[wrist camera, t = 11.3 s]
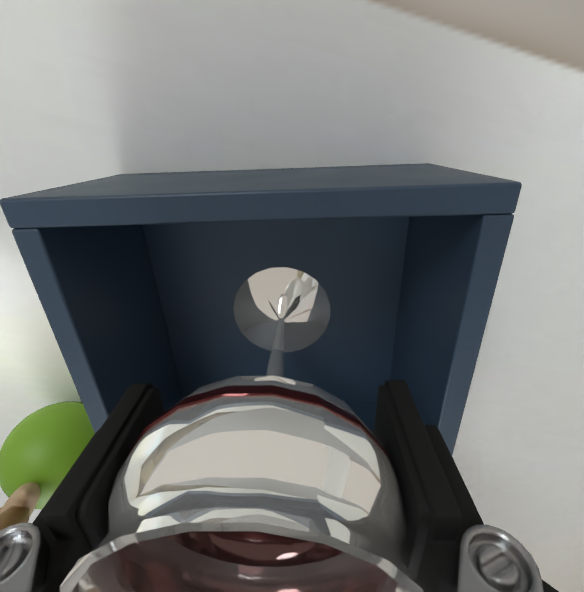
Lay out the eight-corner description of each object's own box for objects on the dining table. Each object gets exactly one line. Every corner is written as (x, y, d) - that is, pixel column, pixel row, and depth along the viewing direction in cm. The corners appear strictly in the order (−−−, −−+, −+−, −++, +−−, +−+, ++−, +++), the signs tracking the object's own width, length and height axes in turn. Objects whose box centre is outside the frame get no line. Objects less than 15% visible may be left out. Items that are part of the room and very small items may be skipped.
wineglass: (286, 385, 19) (267, 719, 8) (189, 315, 17) (-7, 627, 6) (376, 310, 17) (518, 634, 6) (275, 218, 15) (204, 446, 4)
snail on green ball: (29, 429, 22) (-238, 719, 11) (61, 367, 19) (-237, 657, 9) (106, 463, 23) (-64, 751, 12) (145, 409, 21) (-22, 705, 10)
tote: (120, 174, 15) (-4, 199, 9) (429, 163, 14) (524, 182, 8) (177, 405, 20) (127, 514, 15) (396, 402, 20) (437, 514, 14)
